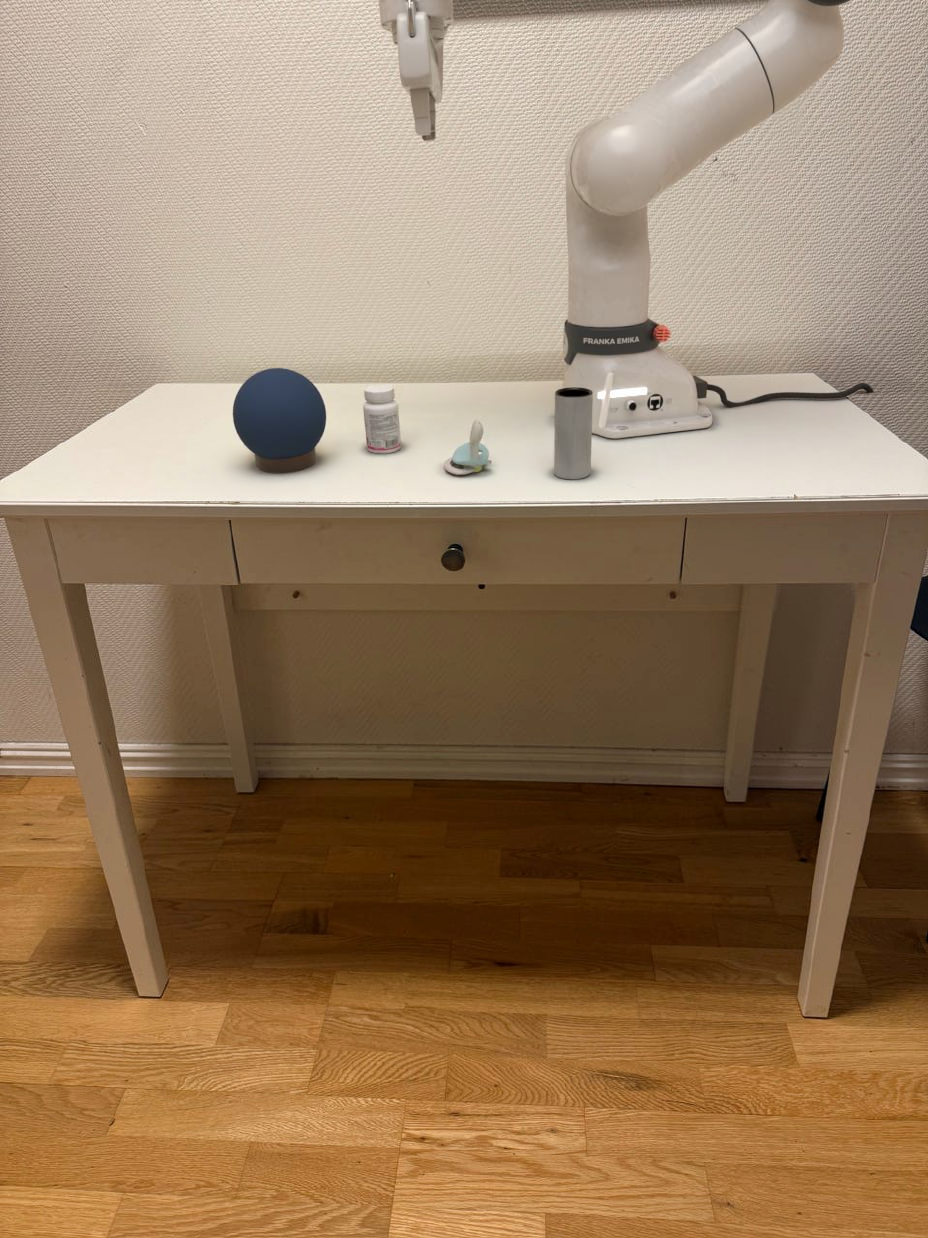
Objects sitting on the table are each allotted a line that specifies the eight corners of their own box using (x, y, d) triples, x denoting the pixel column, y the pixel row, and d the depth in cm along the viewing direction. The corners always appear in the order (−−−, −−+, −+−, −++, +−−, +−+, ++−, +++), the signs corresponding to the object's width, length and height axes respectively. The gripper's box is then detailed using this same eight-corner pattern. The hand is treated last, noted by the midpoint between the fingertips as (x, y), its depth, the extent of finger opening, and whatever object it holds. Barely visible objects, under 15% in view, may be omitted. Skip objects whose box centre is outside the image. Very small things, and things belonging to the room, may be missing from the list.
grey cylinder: (588, 480, 112) (591, 397, 107) (552, 479, 113) (552, 396, 108) (591, 468, 116) (594, 387, 111) (556, 466, 117) (557, 386, 112)
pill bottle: (370, 443, 128) (365, 383, 124) (404, 443, 128) (399, 382, 124) (364, 454, 124) (358, 392, 120) (398, 454, 124) (393, 392, 120)
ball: (334, 443, 127) (324, 356, 122) (327, 472, 117) (316, 378, 111) (248, 447, 127) (234, 360, 121) (233, 477, 116) (217, 383, 111)
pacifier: (445, 480, 114) (493, 476, 114) (441, 432, 111) (490, 427, 111) (443, 461, 121) (488, 457, 121) (439, 415, 118) (485, 411, 118)
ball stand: (319, 452, 126) (317, 438, 125) (313, 471, 119) (311, 456, 118) (261, 455, 126) (258, 441, 125) (252, 474, 119) (249, 460, 118)
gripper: (436, -15, 99) (446, 128, 105) (447, 22, 118) (455, 141, 124) (379, -10, 100) (392, 132, 105) (398, 26, 119) (409, 145, 124)
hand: (426, 137), depth 115 cm, fingers open, 8 cm apart
